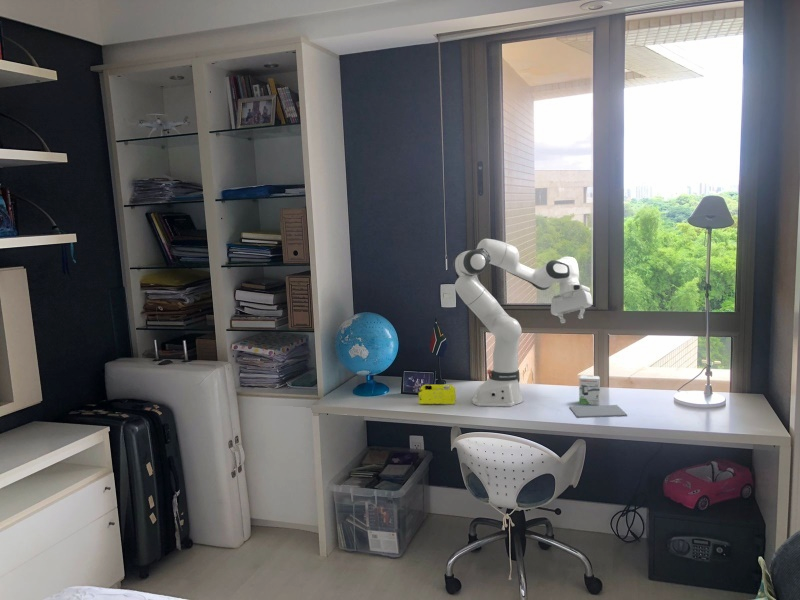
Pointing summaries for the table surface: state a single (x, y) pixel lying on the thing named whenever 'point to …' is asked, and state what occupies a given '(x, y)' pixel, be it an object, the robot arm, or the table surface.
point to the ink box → (589, 390)
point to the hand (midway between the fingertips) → (571, 320)
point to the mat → (597, 411)
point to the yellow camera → (437, 394)
